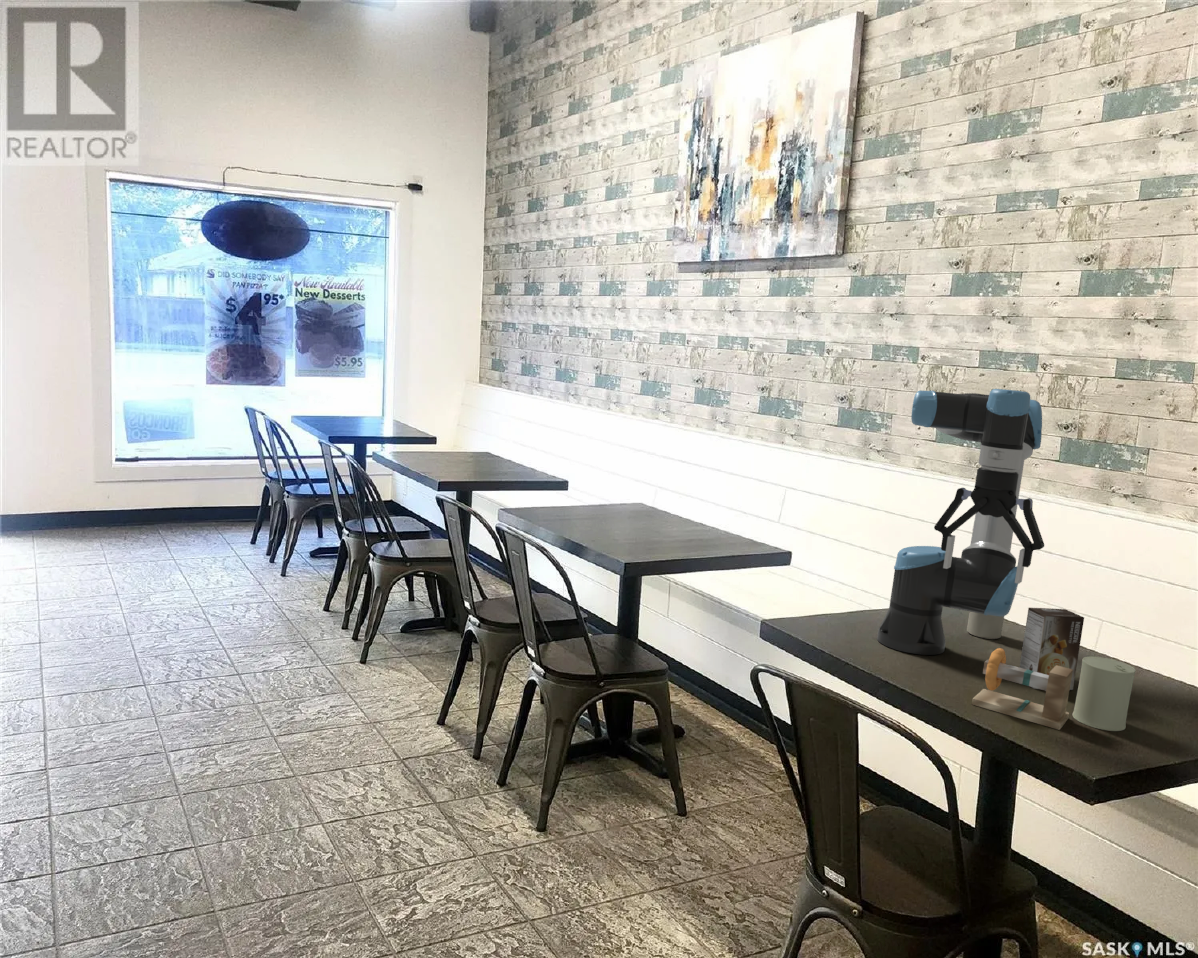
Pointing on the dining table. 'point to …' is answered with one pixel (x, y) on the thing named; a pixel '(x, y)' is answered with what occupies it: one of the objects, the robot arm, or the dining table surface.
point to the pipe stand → (1044, 714)
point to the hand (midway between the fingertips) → (981, 574)
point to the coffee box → (1051, 640)
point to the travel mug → (985, 625)
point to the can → (1104, 693)
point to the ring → (994, 668)
